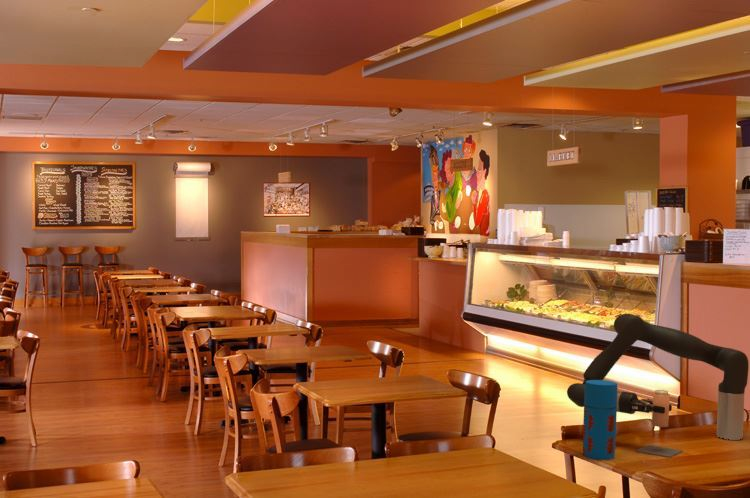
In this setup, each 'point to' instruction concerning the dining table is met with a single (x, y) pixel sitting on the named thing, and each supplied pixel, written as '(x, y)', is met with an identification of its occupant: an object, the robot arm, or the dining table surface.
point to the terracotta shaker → (661, 400)
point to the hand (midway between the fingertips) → (667, 409)
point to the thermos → (599, 419)
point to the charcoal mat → (659, 451)
